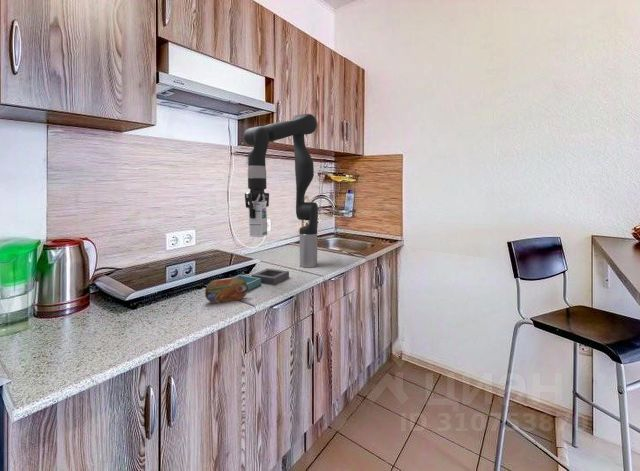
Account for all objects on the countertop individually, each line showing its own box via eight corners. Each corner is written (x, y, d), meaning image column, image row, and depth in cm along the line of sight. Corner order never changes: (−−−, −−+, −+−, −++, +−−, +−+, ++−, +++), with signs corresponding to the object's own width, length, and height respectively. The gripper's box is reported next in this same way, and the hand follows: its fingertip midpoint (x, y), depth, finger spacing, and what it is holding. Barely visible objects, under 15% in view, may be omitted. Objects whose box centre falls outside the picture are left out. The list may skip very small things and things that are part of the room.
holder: (267, 274, 148) (267, 268, 147) (289, 277, 143) (288, 271, 142) (251, 281, 137) (251, 274, 137) (274, 285, 132) (274, 278, 131)
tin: (206, 305, 111) (204, 282, 109) (205, 302, 113) (204, 279, 112) (248, 299, 116) (247, 277, 115) (246, 296, 119) (246, 275, 118)
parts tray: (239, 281, 137) (239, 274, 137) (261, 285, 132) (260, 278, 132) (220, 289, 127) (220, 282, 126) (243, 293, 122) (243, 286, 121)
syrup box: (262, 237, 129) (261, 201, 127) (249, 236, 130) (248, 201, 128) (267, 235, 134) (266, 201, 132) (254, 234, 135) (253, 201, 133)
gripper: (260, 178, 137) (260, 216, 139) (238, 176, 124) (239, 218, 126) (274, 178, 133) (274, 216, 136) (253, 176, 121) (254, 219, 123)
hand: (257, 217), depth 131 cm, fingers closed on syrup box, 6 cm apart
